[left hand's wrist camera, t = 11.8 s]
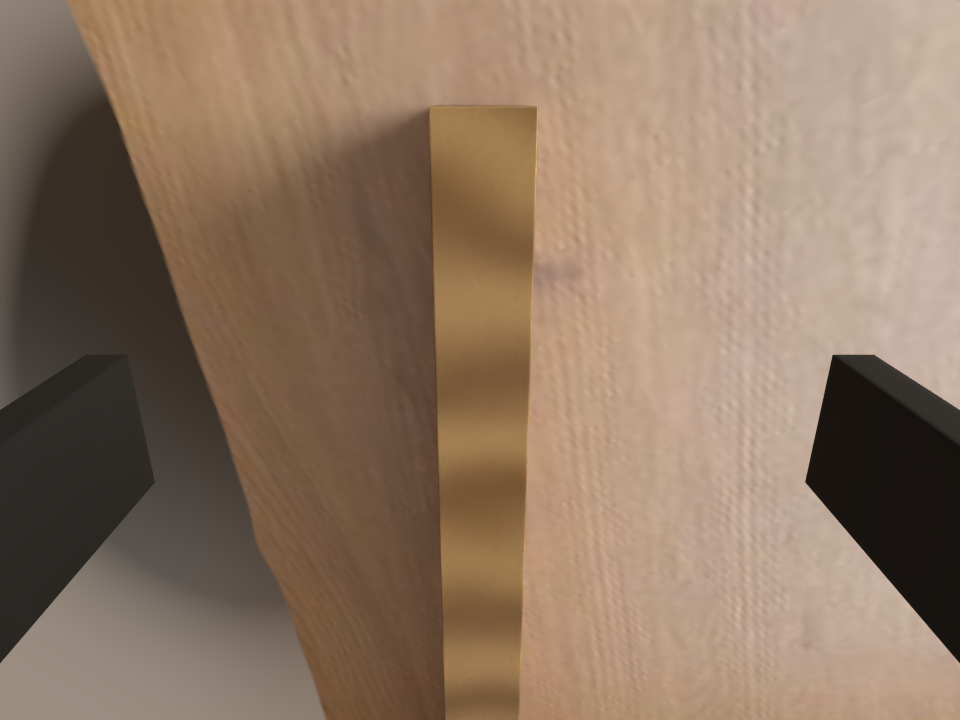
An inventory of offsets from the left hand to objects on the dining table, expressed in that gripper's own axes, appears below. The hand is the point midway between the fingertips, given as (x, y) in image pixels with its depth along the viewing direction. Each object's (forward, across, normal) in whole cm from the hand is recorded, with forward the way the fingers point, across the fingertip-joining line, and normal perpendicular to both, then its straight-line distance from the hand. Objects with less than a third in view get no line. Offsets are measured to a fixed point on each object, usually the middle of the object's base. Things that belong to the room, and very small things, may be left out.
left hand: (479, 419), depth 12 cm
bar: (+24, 0, -21) cm, 32 cm away
